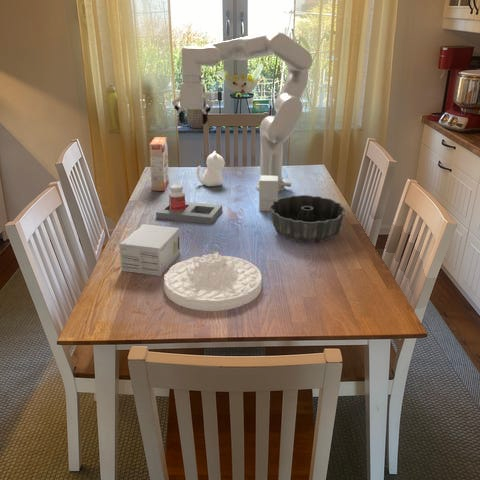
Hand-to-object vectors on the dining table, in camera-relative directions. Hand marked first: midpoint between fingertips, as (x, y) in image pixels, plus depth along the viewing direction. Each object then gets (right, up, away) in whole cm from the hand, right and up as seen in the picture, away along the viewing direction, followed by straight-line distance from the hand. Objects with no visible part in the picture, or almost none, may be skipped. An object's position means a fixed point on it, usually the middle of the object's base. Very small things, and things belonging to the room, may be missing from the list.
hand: (193, 122), depth 215 cm
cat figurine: (+6, -23, +23) cm, 33 cm away
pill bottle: (-5, -38, -10) cm, 39 cm away
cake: (+11, -62, -63) cm, 89 cm away
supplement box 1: (-9, -55, -49) cm, 74 cm away
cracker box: (-16, -24, +21) cm, 36 cm away
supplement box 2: (+30, -35, -4) cm, 47 cm away
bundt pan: (+43, -46, -27) cm, 68 cm away
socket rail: (0, -38, -11) cm, 40 cm away
